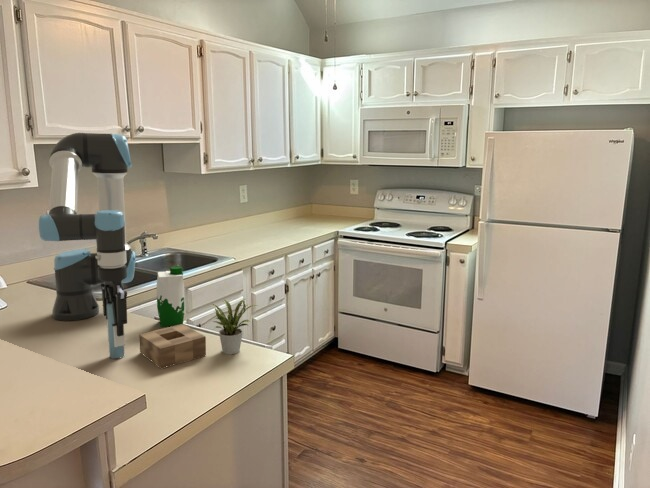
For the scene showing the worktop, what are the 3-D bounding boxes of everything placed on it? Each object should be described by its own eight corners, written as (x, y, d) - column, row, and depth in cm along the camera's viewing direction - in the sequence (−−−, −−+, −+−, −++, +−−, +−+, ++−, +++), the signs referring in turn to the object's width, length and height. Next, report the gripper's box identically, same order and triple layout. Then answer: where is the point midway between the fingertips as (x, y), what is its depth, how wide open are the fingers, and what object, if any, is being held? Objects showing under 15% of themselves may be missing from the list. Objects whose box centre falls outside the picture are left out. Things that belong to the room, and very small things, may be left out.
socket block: (140, 353, 146) (139, 334, 145) (183, 341, 156) (182, 323, 155) (161, 368, 136) (160, 348, 135) (205, 355, 146) (205, 336, 145)
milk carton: (185, 326, 170) (184, 270, 166) (158, 328, 166) (156, 271, 163) (183, 317, 178) (182, 264, 174) (157, 320, 174) (155, 265, 171)
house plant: (258, 340, 159) (258, 292, 155) (259, 358, 145) (259, 305, 142) (213, 342, 156) (212, 292, 153) (209, 360, 143) (208, 306, 140)
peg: (107, 356, 144) (104, 303, 141) (121, 352, 146) (118, 301, 143) (112, 360, 141) (109, 307, 138) (126, 356, 144) (124, 304, 141)
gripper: (87, 261, 142) (92, 337, 146) (110, 273, 130) (114, 355, 134) (114, 258, 147) (118, 332, 151) (137, 269, 135) (141, 348, 139)
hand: (116, 343), depth 143 cm, fingers closed on peg, 4 cm apart
